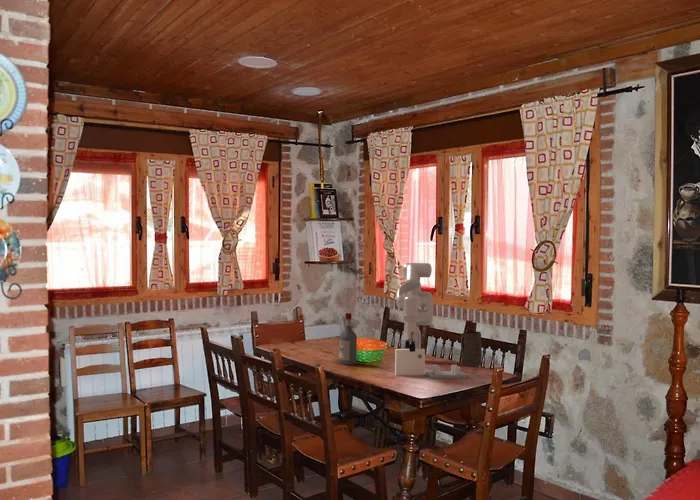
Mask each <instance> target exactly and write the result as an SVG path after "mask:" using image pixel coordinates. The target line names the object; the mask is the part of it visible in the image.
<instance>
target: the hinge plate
mask: <svg viewBox="0 0 700 500" xmlns="http://www.w3.org/2000/svg"><path fill="white" fill-rule="evenodd" d="M450 367H451V369H450V370H449V371H447V370H446V371H445V370H441V367H440V366H438V364H432V365H431V371H425V375H426V376H427V377H428V378H429V379H466V378H467V374H465V373H464V372H463V371H461V367H460V366H458V364H451V366H450Z"/></svg>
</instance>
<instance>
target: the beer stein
mask: <svg viewBox="0 0 700 500" xmlns="http://www.w3.org/2000/svg"><path fill="white" fill-rule="evenodd" d="M460 347H461V352H462V353H461V358H463V364H462V365H464V366H467V367H480V366H482V358H483V357H482V355H483V354H482V348H483V347H482V332H480V331H474V330H467V331H465V332H463V333H461V338H460Z"/></svg>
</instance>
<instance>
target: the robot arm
mask: <svg viewBox="0 0 700 500" xmlns="http://www.w3.org/2000/svg"><path fill="white" fill-rule="evenodd" d="M432 271H433V269H432V265H431V264H430V263H428V262H427V263H426V262H407V263H405V264H403V266H402V273H403V276H404V279H405V281H404V282H403V283H402V284H401V285H400V286H399V287H398V289H397V291H396V299H395V304H396V306H397V308H398V309H403V322H404V324H403V325H404V326H403V339H404V349H409V351H410V352H415V349H422V348H421V344H422V343H421V340H422V339H421V338H422V333H421V330H420V329H419V327H418V326H431V325H433V324H432V323H433V320H434V319H433V318H434V298H433V294H432V292H430V291H422V285H421V284H422V283H421V278H430V277H431V275H432ZM420 308H424V309H420Z"/></svg>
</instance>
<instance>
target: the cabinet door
mask: <svg viewBox="0 0 700 500" xmlns="http://www.w3.org/2000/svg"><path fill="white" fill-rule="evenodd" d="M394 351H395V352H394V375H395V376H399V377H400V376H425V375H426V370H425V368H426V366H425V364H426V356H425V355H426V349H425V348H420V349H415V352H410V351H409V349H405V348H395V350H394Z"/></svg>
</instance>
